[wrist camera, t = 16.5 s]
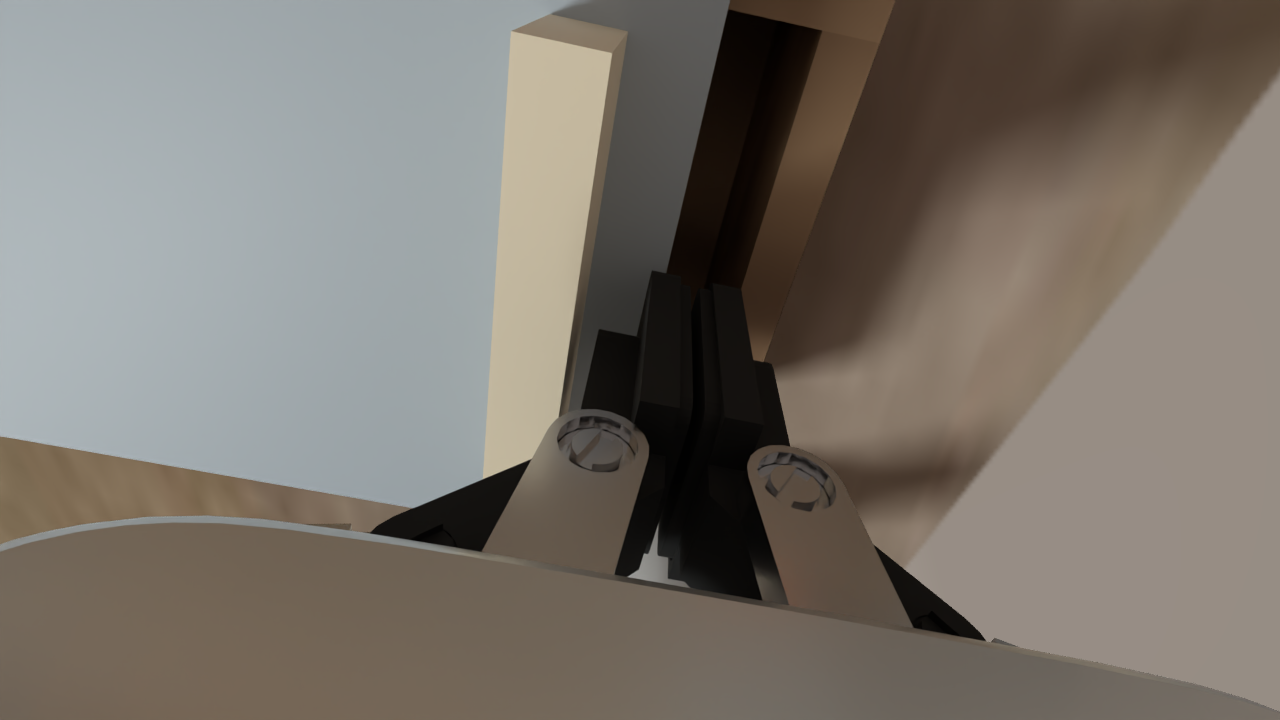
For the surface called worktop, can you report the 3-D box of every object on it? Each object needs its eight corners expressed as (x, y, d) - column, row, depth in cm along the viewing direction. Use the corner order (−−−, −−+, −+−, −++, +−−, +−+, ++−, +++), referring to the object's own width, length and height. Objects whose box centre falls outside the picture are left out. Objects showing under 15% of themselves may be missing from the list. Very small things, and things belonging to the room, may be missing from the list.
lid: (607, 511, 17) (590, 631, 14) (-258, 358, 15) (-478, 453, 12) (740, -65, 9) (765, -74, 6) (-862, -435, 8) (-1716, -651, 5)
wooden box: (700, 391, 22) (705, 520, 17) (66, 271, 21) (-130, 372, 16) (829, -32, 15) (905, -26, 10) (-128, -253, 14) (-600, -374, 9)
